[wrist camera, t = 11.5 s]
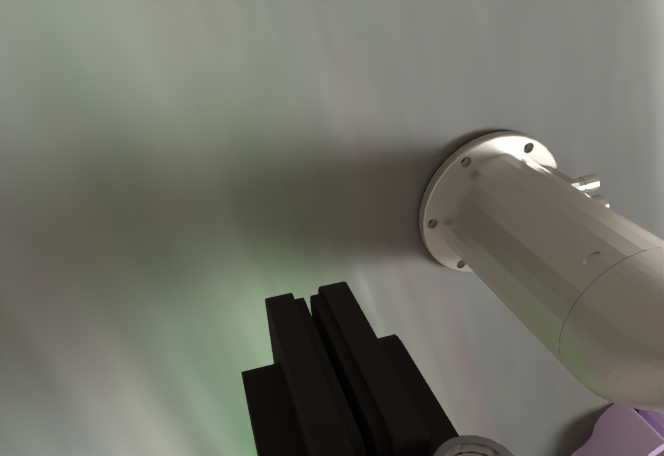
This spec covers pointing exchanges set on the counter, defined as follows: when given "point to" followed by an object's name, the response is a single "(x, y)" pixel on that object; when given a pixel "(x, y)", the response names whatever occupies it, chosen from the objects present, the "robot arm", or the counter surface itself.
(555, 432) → the counter surface
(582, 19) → the counter surface
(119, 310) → the counter surface
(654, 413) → the clip
